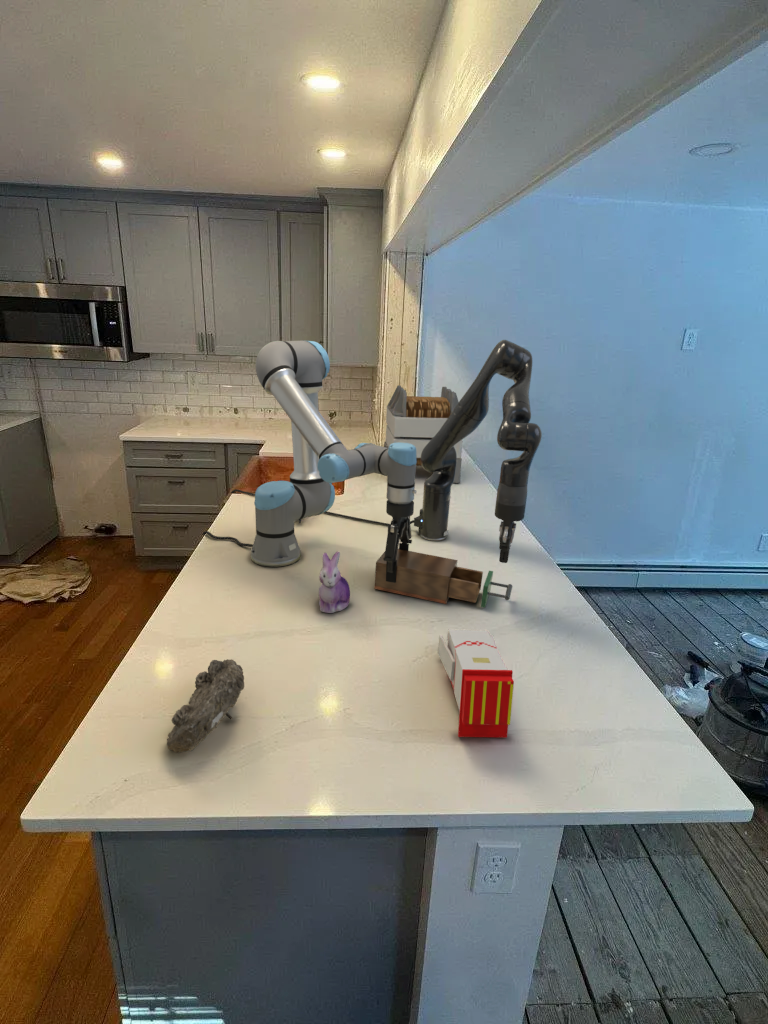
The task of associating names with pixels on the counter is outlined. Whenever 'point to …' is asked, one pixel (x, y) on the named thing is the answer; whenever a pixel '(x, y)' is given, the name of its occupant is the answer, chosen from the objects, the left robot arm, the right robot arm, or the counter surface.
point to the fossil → (206, 705)
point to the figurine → (332, 586)
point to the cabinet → (417, 576)
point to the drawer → (473, 586)
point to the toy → (478, 682)
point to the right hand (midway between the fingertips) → (503, 561)
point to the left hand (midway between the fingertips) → (397, 572)
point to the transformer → (420, 421)
